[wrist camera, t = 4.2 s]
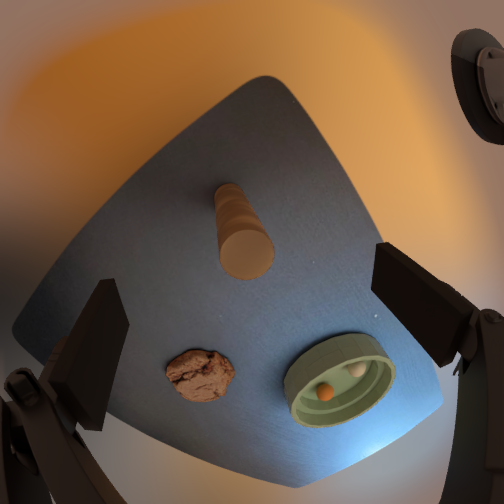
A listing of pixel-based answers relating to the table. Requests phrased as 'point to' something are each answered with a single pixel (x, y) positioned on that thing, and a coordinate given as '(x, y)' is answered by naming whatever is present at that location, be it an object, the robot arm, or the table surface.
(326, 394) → the orange ball
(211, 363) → the cookie
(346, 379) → the bowl
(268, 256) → the stick
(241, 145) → the table surface
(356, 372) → the cream ball
